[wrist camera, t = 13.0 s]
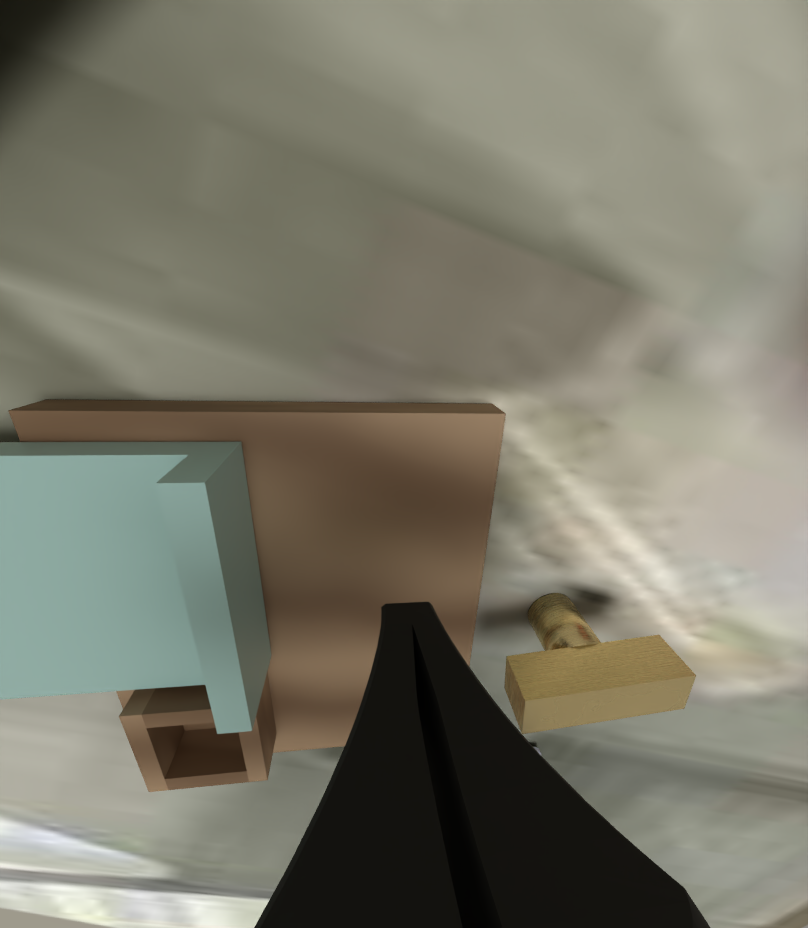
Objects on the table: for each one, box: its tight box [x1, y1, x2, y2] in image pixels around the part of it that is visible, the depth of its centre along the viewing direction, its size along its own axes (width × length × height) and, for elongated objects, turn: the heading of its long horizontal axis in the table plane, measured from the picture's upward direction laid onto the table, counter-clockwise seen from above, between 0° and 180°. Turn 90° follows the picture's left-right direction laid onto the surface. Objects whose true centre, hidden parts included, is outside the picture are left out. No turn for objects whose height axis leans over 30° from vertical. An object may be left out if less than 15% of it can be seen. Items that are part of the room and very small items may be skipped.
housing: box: [9, 400, 506, 792], centre depth 16 cm, size 18×16×4 cm
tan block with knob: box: [505, 593, 696, 734], centre depth 17 cm, size 7×2×5 cm, turn 94°
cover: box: [0, 442, 271, 734], centre depth 12 cm, size 10×10×3 cm
